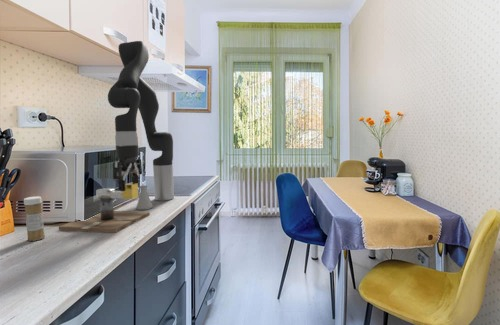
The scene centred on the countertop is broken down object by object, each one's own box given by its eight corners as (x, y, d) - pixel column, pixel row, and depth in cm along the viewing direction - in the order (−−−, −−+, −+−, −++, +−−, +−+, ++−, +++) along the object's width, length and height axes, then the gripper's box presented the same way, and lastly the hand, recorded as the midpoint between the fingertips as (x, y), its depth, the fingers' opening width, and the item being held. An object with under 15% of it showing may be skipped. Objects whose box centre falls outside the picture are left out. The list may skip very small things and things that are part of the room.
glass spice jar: (107, 216, 117) (106, 195, 117) (117, 216, 117) (116, 196, 116) (96, 220, 111) (95, 199, 110) (107, 221, 110) (106, 199, 110)
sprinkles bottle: (34, 236, 99) (30, 196, 98) (48, 236, 99) (44, 195, 97) (23, 241, 94) (19, 199, 93) (38, 241, 94) (34, 198, 93)
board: (101, 213, 127) (101, 209, 127) (149, 214, 123) (149, 211, 123) (56, 230, 104) (56, 226, 104) (114, 233, 100) (113, 229, 100)
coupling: (92, 198, 111) (91, 185, 110) (104, 195, 117) (103, 182, 116) (130, 199, 108) (129, 185, 107) (140, 195, 114) (139, 182, 113)
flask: (155, 206, 137) (154, 184, 136) (148, 210, 130) (147, 187, 129) (140, 206, 138) (139, 184, 137) (132, 210, 131) (131, 187, 130)
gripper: (129, 143, 117) (131, 185, 118) (104, 145, 103) (107, 192, 105) (146, 143, 116) (148, 185, 117) (124, 144, 102) (127, 192, 103)
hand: (129, 188), depth 111 cm, fingers open, 8 cm apart
